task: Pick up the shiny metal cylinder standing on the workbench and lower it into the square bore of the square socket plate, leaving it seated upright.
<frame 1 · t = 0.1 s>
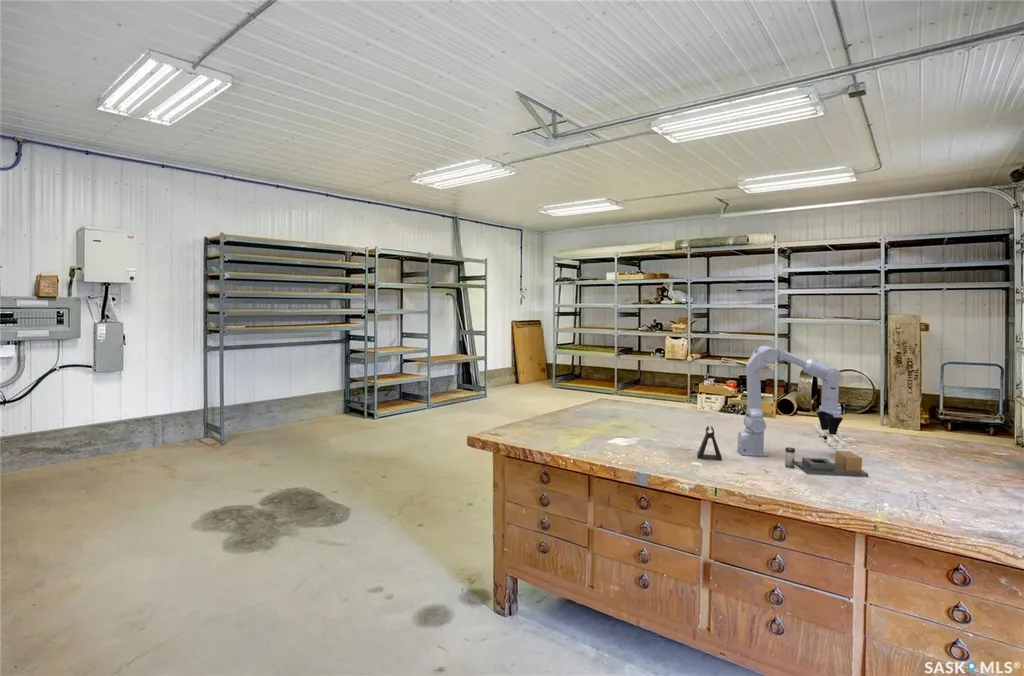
hand: (828, 431, 208), 10 cm above the table, tool pointing down, fingers open, 7 cm apart
miniature set: (835, 441, 235), on the table
shiny metal cylinder: (789, 466, 195), on the table
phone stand: (709, 458, 208), on the table
square socket plate: (817, 469, 192), on the table
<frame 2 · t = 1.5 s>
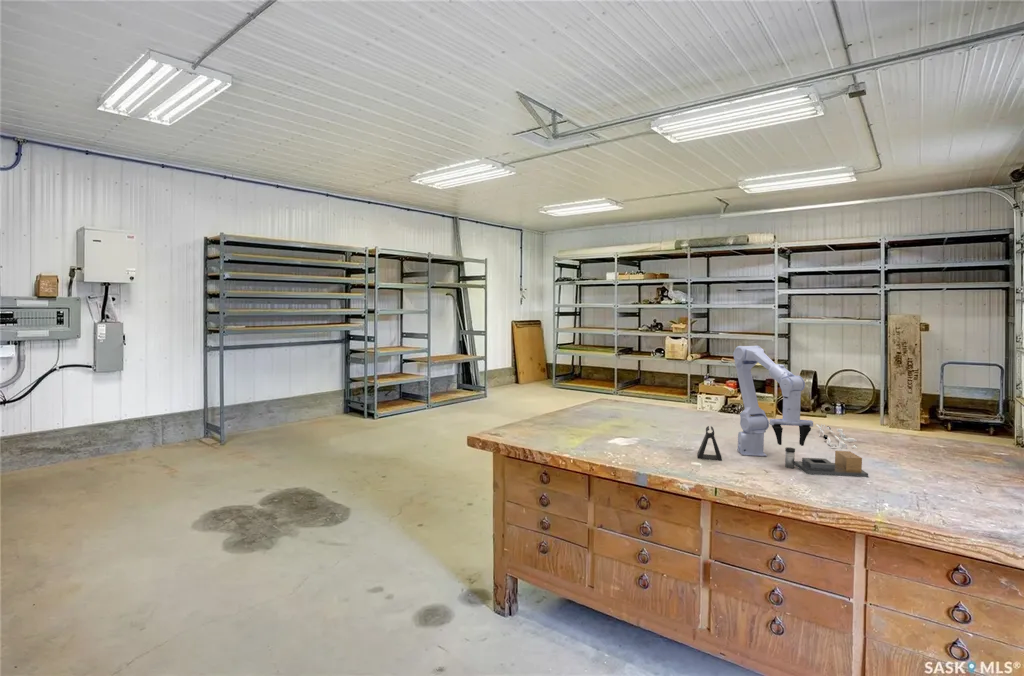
hand: (790, 444, 195), 8 cm above the table, tool pointing down, fingers open, 7 cm apart
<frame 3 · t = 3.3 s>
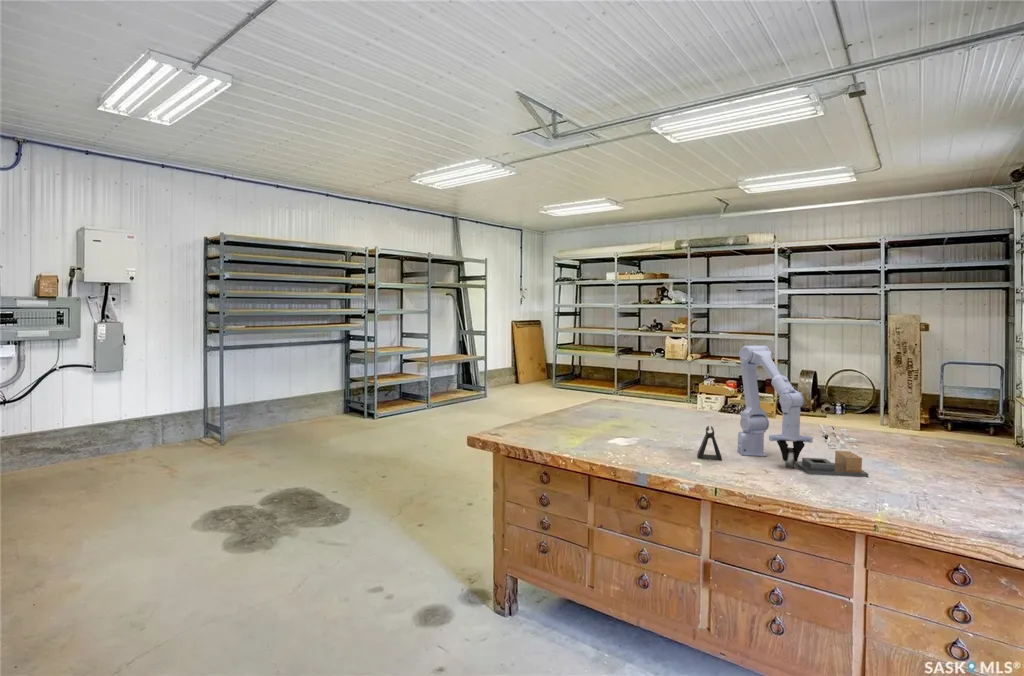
hand: (789, 460, 195), 2 cm above the table, tool pointing down, fingers closed on shiny metal cylinder, 3 cm apart
shiny metal cylinder: (789, 466, 195), on the table, touching gripper
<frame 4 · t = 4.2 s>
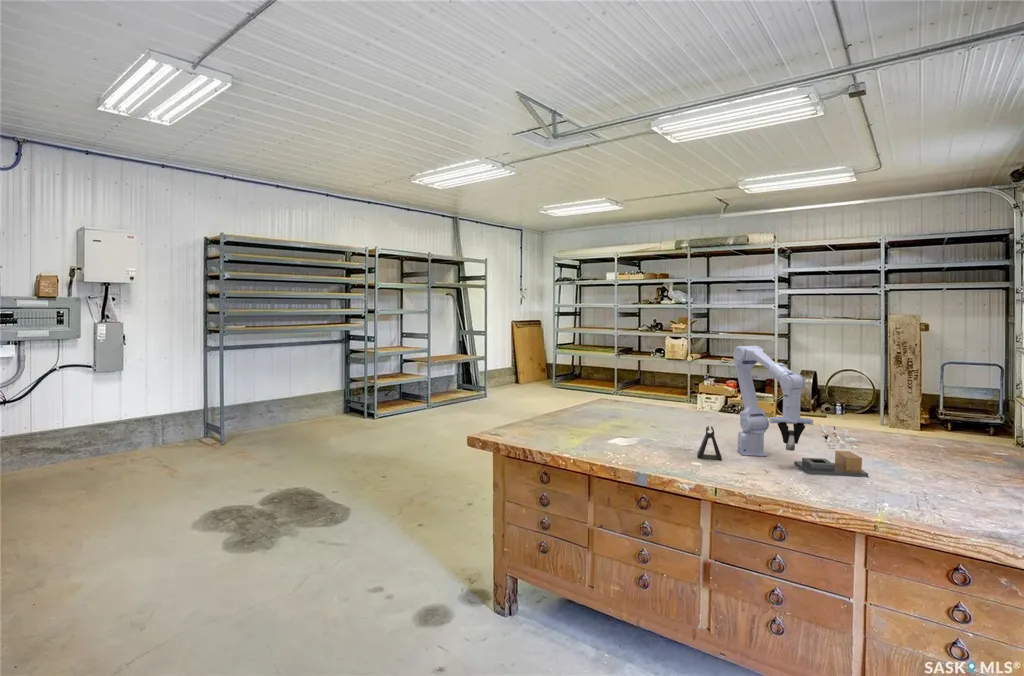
hand: (790, 442, 195), 9 cm above the table, tool pointing down, fingers closed on shiny metal cylinder, 3 cm apart
shiny metal cylinder: (790, 449, 195), point 7 cm above the table, touching gripper
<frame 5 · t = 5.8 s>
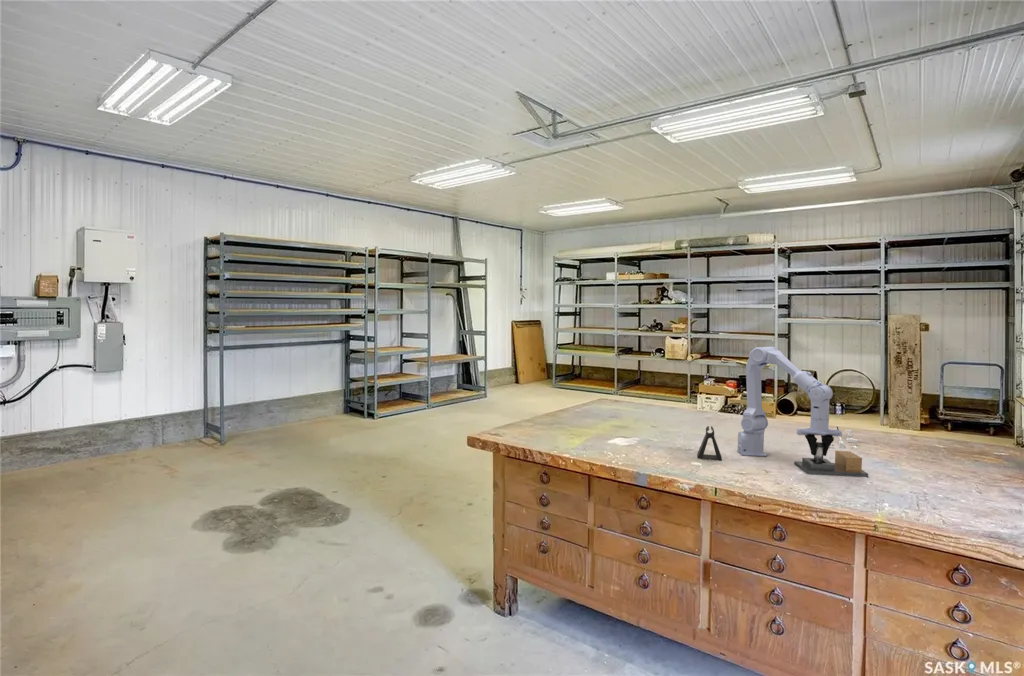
hand: (818, 454, 191), 6 cm above the table, tool pointing down, fingers closed on shiny metal cylinder, 3 cm apart
shiny metal cylinder: (818, 461, 192), point 3 cm above the table, touching gripper
when the fingers open (5 cm above the table, at t = 6.8 s): shiny metal cylinder stays where it is, resting on square socket plate.
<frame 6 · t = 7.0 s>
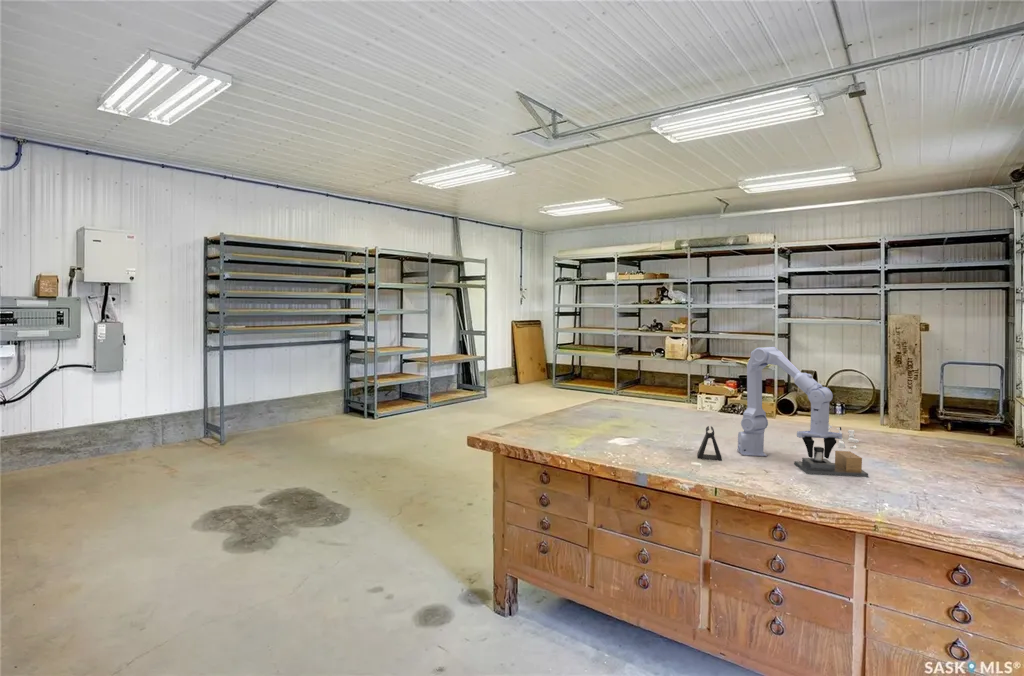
hand: (818, 457, 192), 5 cm above the table, tool pointing down, fingers open, 5 cm apart
shiny metal cylinder: (818, 466, 192), point 1 cm above the table, touching square socket plate
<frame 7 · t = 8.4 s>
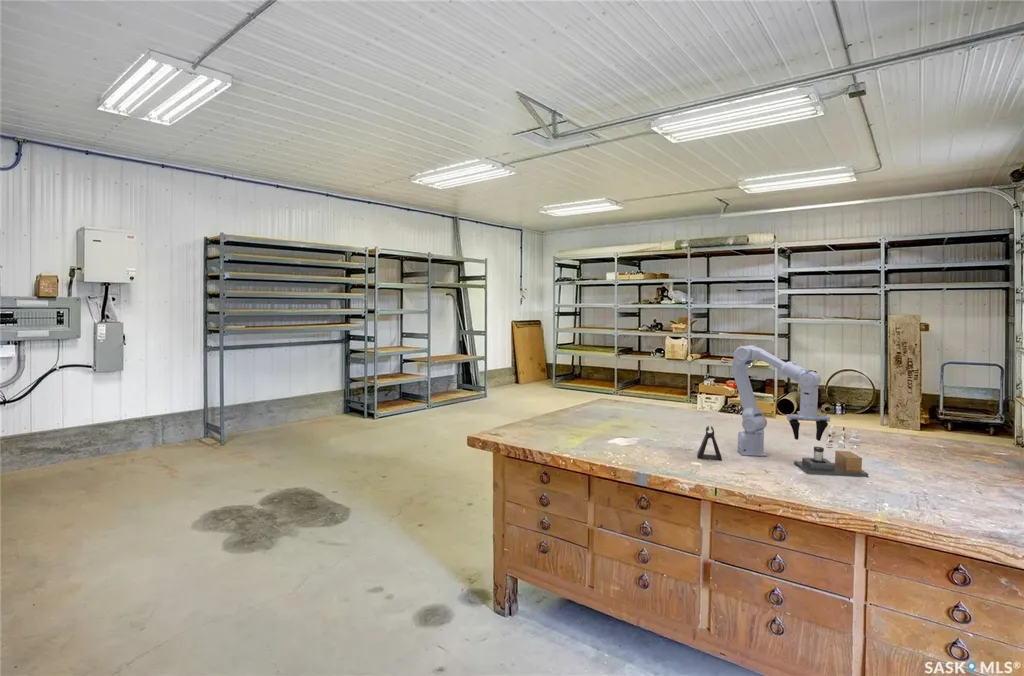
hand: (807, 439, 198), 10 cm above the table, tool pointing down, fingers open, 7 cm apart
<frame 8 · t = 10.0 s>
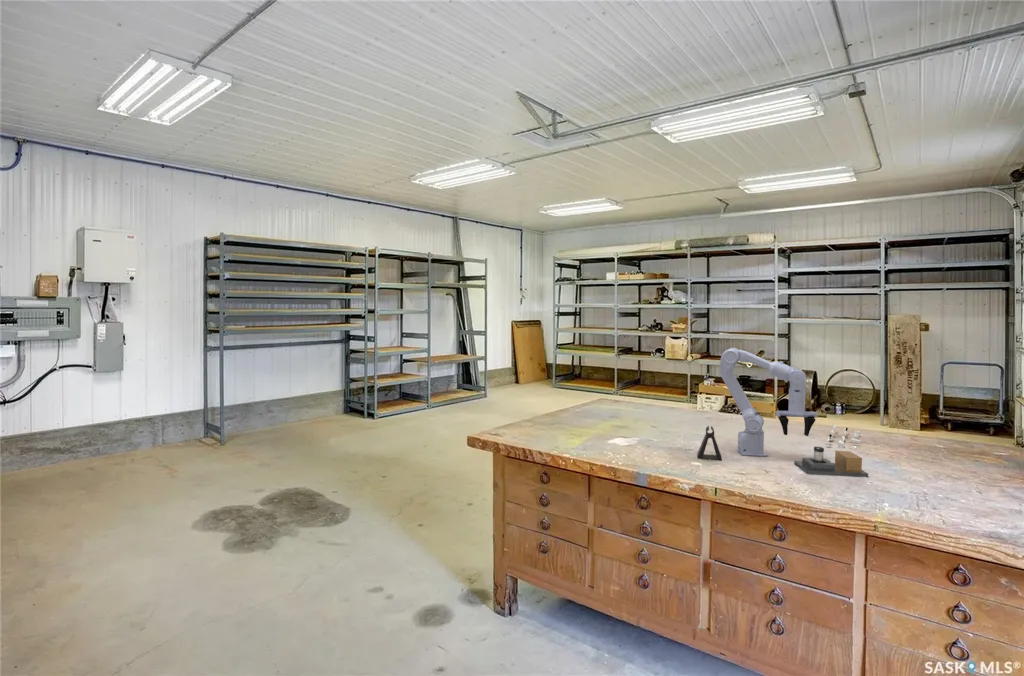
hand: (795, 435, 206), 9 cm above the table, tool pointing down, fingers open, 7 cm apart
at the end: shiny metal cylinder 0.1 cm off-centre on the square socket plate, point 1.2 cm above the square socket plate's base; shiny metal cylinder tilted 1°; the gripper is holding nothing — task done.
